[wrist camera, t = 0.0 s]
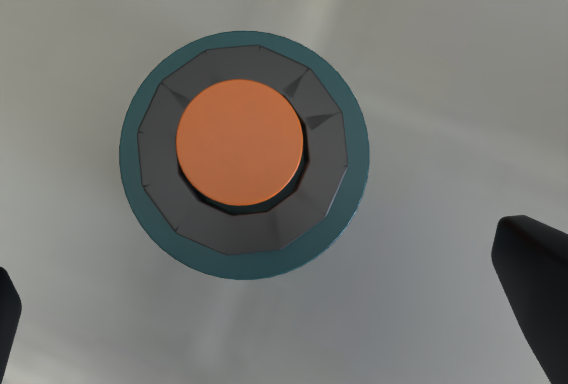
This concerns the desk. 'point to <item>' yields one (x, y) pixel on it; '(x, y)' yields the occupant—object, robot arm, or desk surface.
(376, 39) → the desk surface
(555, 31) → the desk surface
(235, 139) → the nozzle
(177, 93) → the cap
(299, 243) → the teal jar
